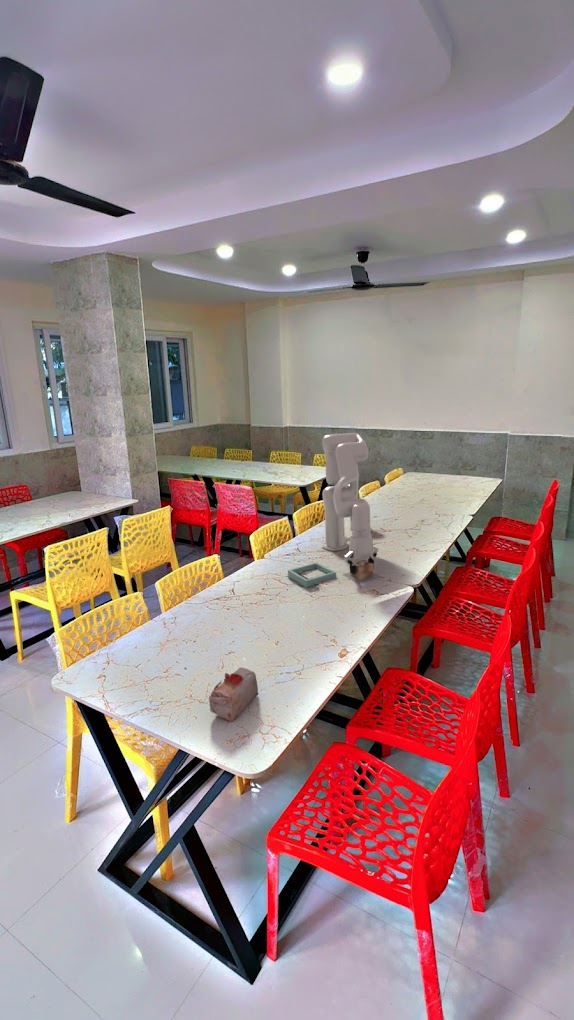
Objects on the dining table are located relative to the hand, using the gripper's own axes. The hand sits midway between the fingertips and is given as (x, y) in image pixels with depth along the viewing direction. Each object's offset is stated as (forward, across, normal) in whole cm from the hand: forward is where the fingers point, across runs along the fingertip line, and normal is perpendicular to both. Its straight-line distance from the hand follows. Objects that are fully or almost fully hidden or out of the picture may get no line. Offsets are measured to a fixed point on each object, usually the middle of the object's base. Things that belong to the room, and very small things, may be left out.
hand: (361, 570), depth 216 cm
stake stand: (+4, 0, 0) cm, 4 cm away
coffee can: (+3, -43, -56) cm, 71 cm away
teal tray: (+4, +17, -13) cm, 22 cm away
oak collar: (+2, 0, 0) cm, 2 cm away
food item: (+5, +82, +48) cm, 95 cm away
